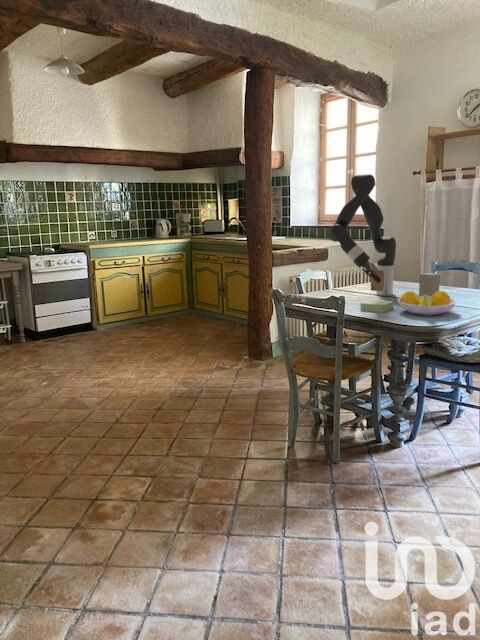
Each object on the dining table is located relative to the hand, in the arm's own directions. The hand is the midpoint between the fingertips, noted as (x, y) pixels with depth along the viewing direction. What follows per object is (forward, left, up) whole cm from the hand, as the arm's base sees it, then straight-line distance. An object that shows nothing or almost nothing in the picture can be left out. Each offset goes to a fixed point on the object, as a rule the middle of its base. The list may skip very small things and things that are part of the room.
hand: (381, 280), depth 256 cm
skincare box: (-28, +14, -15) cm, 35 cm away
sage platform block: (0, -2, -15) cm, 15 cm away
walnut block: (0, -2, -5) cm, 5 cm away
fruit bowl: (-4, +21, -15) cm, 26 cm away
